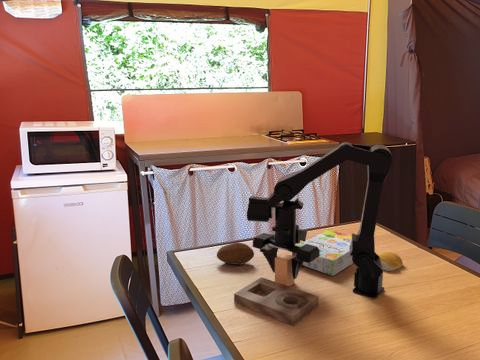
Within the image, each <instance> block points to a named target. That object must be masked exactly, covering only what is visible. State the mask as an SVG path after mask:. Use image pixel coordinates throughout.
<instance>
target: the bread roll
mask: <svg viewBox="0 0 480 360" xmlns="http://www.w3.org/2000/svg"><path fill="white" fill-rule="evenodd" d="M377 255H378V256H379V257H380V259H381V264H382V269H383V271H384V270H385V271H384V272H394V271H393V270H395V271H396V269H397V270H398V269H400V268H401V267H402V266H403V260H402V258H401V256H399V255H398V254H396V252H395V253H394V252H391V251H385V252H380V253H379V254H378V253H377Z"/></svg>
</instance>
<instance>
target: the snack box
mask: <svg viewBox="0 0 480 360" xmlns="http://www.w3.org/2000/svg"><path fill="white" fill-rule="evenodd" d="M351 242H352V235H349V234H346V233H342V232H338V231H335V230H331V229H328V230H325V231H324V232H321V233H320V234H317V235H315V236H313V237H311V238H309V239H307V240H305V242H304V241H302V242H300V243H299V244H297V245H296V246H299V247H302V246H304V245H305V244H309V245H313V246H317V247H318V248H319V250H320V256H319V257H318V258H316V259H315V260H313V261H311V262H309V263H307V262H303V264H302V267H303V266H304V267H307V268H308V269H312V270H314V271H318V272H320V273H323V274H325V275H328V276H332V277H334V276H335V275H337V274H339V273H340V272H342V271H343V270H345V269H347V268H348V267H349V266H351V265H353V264H354V263H353V261H352V256H350V244H351ZM291 255H292V256H295V257H296V253H293V252H291Z"/></svg>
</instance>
